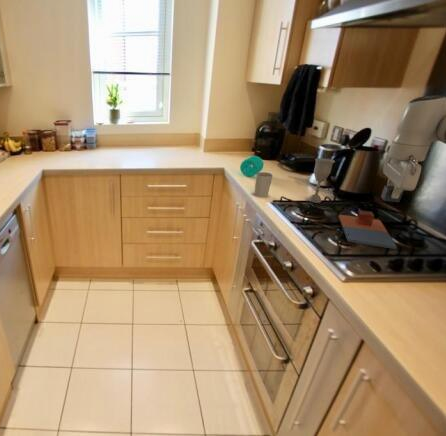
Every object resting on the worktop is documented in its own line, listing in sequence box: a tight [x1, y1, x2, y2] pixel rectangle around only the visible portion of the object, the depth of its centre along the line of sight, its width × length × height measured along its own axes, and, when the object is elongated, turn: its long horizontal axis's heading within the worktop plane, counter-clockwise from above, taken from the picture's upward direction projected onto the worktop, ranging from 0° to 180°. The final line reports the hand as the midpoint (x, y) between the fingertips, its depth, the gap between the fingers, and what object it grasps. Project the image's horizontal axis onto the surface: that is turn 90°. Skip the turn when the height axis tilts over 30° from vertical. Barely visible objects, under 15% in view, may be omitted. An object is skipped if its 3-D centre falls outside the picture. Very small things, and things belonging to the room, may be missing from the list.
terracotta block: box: [356, 210, 375, 226], centre depth 115 cm, size 4×4×4 cm
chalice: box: [308, 157, 336, 204], centre depth 136 cm, size 7×7×18 cm
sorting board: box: [338, 214, 398, 250], centre depth 112 cm, size 13×22×1 cm, turn 154°
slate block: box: [380, 185, 404, 203], centre depth 102 cm, size 4×4×4 cm
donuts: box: [239, 155, 264, 178], centre depth 174 cm, size 10×10×10 cm
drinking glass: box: [253, 171, 273, 198], centre depth 145 cm, size 7×7×10 cm
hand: (391, 194), depth 102 cm, fingers closed on slate block, 4 cm apart
